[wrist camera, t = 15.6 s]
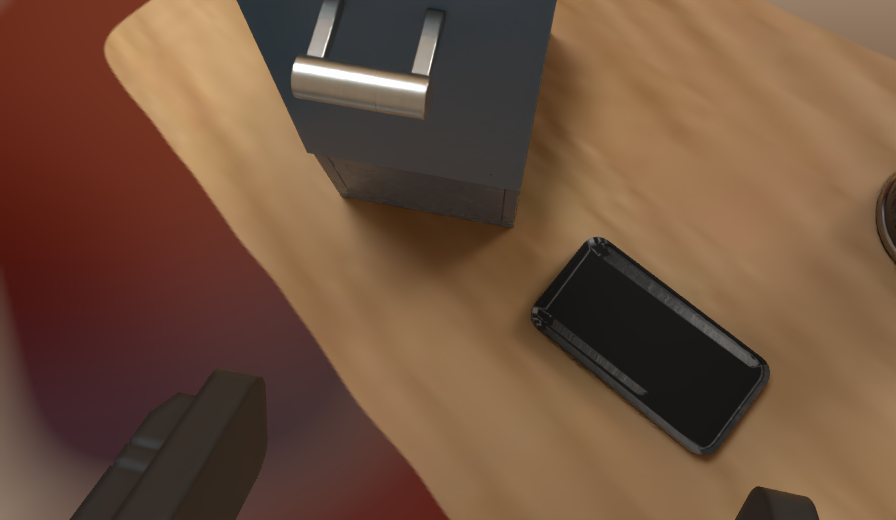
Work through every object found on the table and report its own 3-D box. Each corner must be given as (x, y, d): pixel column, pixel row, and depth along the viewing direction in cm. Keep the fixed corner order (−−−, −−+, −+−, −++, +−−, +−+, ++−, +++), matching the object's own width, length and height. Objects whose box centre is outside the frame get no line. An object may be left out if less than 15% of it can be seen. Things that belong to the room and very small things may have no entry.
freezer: (387, 5, 54) (369, -78, 45) (550, 31, 53) (565, -48, 44) (341, 196, 51) (310, 149, 42) (512, 228, 50) (520, 187, 40)
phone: (594, 230, 48) (777, 368, 46) (592, 234, 49) (770, 369, 47) (524, 317, 47) (707, 464, 44) (522, 319, 48) (701, 462, 46)
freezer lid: (216, -74, 25) (170, 44, 24) (560, -21, 24) (536, 106, 23) (310, 141, 41) (286, 220, 40) (522, 179, 40) (506, 262, 39)
